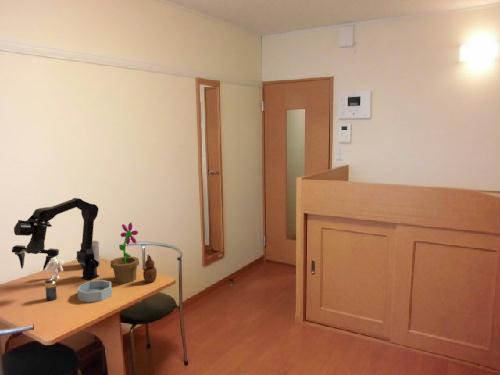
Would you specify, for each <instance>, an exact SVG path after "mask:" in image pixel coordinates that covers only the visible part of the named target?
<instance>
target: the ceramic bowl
mask: <svg viewBox="0 0 500 375" xmlns="http://www.w3.org/2000/svg"><path fill="white" fill-rule="evenodd" d="M112 286H113V285H112V282H111V281H110V280H104V279H99V280H88V281H87V282H85V283H82V284H79V285H78V288H77V300H78V301H80V302H83V303H95V302H102V301H104V300H106V299H107V298H110V297H112V296H113V295H112V294H113V290H112V288H113V287H112Z"/></svg>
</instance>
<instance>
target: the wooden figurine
mask: <svg viewBox="0 0 500 375" xmlns="http://www.w3.org/2000/svg"><path fill="white" fill-rule="evenodd" d="M146 259H147V260H145V262H144V267H145V268H144V269H143V273H142V275H143V279H144V282H145V283H149V284H150V283H153V282H155V281H156V279H157V275H158V274H157V273H158V272H157V267H156V266H155V261H154V260H153V259H152V256H151V255H149V254H147V258H146Z"/></svg>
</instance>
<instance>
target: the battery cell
mask: <svg viewBox="0 0 500 375" xmlns="http://www.w3.org/2000/svg"><path fill="white" fill-rule="evenodd" d="M56 282H57V279H56V278H54V279H51V278H48V279H45V280H44V289H45V290H44V291H45V298H46V301H47V302H53V301H56V300H57V299H58V294H57V283H56Z"/></svg>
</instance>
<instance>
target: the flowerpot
mask: <svg viewBox="0 0 500 375" xmlns="http://www.w3.org/2000/svg"><path fill="white" fill-rule="evenodd" d="M121 227H122V229H123V231H124V232H121V233H120V237H121V238H124V237H125V238H124V241H123V244H119V245H118V247H119V250H120V251H123V256H120V257H117V258H114V259H112V260H110V268H111V269H112V270H113V274H114V280H115V283H118V284H130V283H133V282H135V281H136V280H137V269H138V266H140V260H139V258H138V257H135V256H132V255H130V254H129V253H127V252H126V248H127V247H126V245H127V246H128V245H130V243H133V244H135V245H136V244H137V239H136V238H135V236H137V234H139V232H138V230H136V229H135V230H133V223H132V222H129V224H128V225H125V224H124V223H122V224H121ZM134 280H135V281H134Z"/></svg>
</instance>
